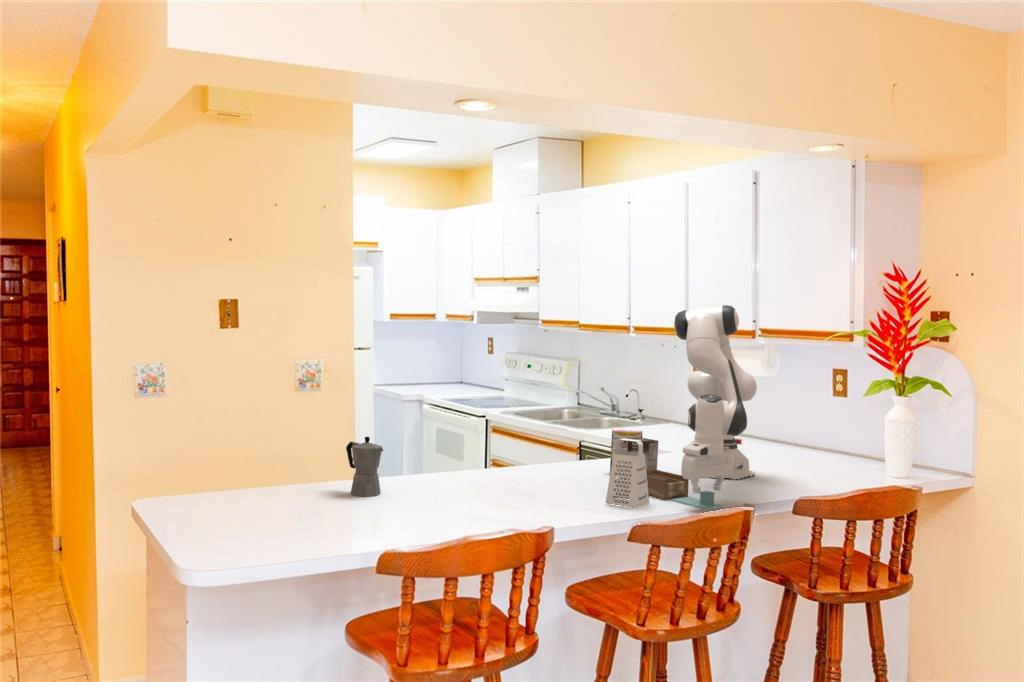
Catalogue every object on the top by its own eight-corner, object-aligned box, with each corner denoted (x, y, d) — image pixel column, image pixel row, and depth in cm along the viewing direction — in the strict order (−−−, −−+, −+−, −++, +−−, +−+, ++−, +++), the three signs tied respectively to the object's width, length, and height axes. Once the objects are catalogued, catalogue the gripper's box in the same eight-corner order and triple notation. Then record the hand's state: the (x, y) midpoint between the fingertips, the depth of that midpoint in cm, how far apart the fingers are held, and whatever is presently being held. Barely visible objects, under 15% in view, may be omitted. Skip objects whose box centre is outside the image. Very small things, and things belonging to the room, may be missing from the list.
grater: (636, 509, 275) (639, 443, 275) (605, 504, 280) (607, 440, 280) (649, 503, 284) (651, 439, 284) (618, 498, 290) (620, 436, 289)
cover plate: (688, 499, 294) (689, 484, 294) (723, 508, 283) (724, 492, 283) (670, 502, 289) (671, 486, 289) (705, 511, 278) (706, 495, 278)
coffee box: (624, 484, 313) (626, 438, 313) (635, 482, 318) (637, 436, 318) (646, 488, 307) (648, 441, 307) (657, 486, 312) (659, 440, 311)
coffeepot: (391, 494, 283) (393, 437, 283) (370, 499, 276) (371, 440, 275) (356, 487, 292) (358, 432, 292) (334, 492, 285) (336, 435, 284)
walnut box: (652, 487, 309) (653, 468, 309) (687, 496, 296) (688, 477, 296) (629, 490, 302) (629, 471, 302) (664, 500, 290) (665, 479, 289)
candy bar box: (609, 475, 330) (611, 430, 329) (609, 472, 335) (611, 428, 334) (640, 477, 329) (642, 432, 328) (640, 474, 334) (642, 430, 333)
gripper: (722, 443, 291) (720, 486, 292) (678, 448, 279) (677, 492, 279) (738, 446, 286) (736, 490, 287) (694, 451, 274) (692, 496, 274)
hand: (706, 491), depth 283 cm, fingers open, 8 cm apart
